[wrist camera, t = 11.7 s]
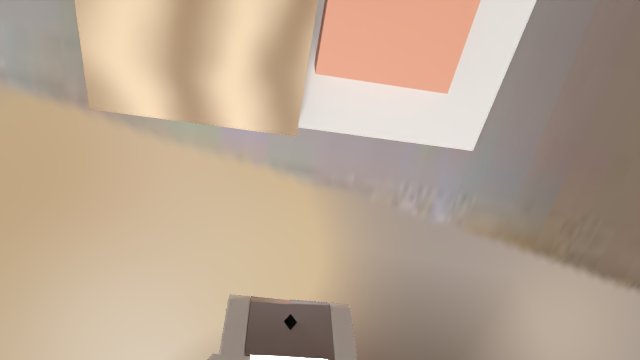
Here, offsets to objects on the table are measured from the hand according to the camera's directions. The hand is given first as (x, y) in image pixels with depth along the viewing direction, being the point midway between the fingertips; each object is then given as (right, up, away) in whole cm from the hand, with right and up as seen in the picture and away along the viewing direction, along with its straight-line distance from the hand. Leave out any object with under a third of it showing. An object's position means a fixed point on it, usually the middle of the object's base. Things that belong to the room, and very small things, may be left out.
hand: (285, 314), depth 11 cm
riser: (-6, +15, +16) cm, 23 cm away
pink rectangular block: (+5, +13, +17) cm, 22 cm away
